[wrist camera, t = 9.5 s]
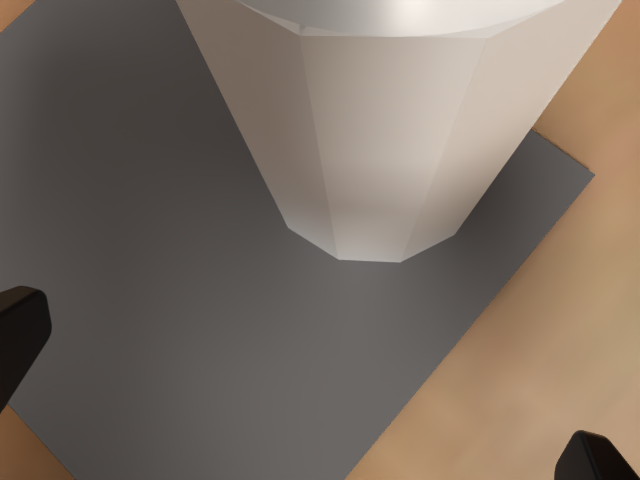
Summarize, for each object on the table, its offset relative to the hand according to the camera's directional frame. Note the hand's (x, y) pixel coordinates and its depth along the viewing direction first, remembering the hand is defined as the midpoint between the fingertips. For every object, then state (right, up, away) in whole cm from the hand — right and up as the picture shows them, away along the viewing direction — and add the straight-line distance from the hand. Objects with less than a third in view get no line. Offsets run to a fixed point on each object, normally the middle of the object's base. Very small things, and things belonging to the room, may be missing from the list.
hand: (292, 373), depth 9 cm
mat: (-4, +4, +10) cm, 11 cm away
